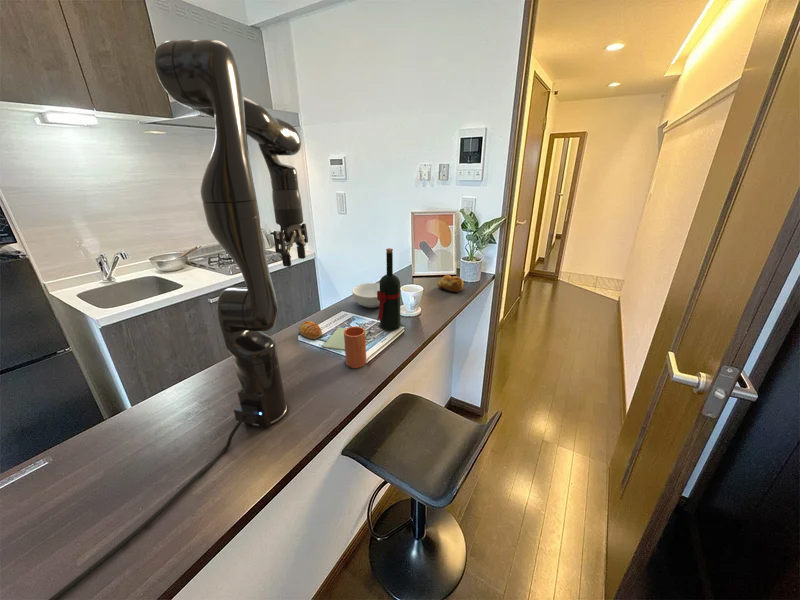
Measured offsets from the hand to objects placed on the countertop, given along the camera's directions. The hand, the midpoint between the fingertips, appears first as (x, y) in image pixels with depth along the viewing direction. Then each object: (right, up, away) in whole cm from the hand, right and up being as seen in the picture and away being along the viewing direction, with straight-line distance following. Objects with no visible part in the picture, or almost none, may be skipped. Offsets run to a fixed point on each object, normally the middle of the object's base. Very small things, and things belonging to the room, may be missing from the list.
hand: (295, 262), depth 97 cm
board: (+13, -25, +18) cm, 33 cm away
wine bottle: (+27, -22, +26) cm, 43 cm away
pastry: (-1, -24, +21) cm, 32 cm away
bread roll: (+56, -6, +63) cm, 84 cm away
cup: (+18, -31, +5) cm, 36 cm away
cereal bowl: (+19, -13, +46) cm, 51 cm away
